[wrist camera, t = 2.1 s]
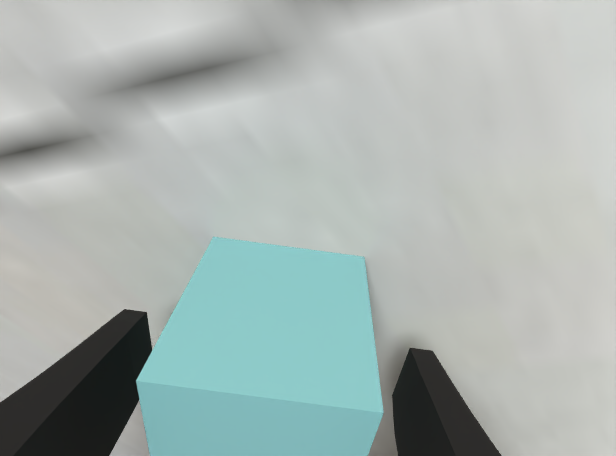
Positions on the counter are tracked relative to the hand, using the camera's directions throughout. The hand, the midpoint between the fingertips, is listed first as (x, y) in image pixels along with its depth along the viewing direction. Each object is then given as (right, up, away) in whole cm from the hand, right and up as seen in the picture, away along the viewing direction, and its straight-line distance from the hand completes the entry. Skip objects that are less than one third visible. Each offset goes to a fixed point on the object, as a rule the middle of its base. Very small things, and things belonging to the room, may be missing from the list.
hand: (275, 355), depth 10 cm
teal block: (0, +1, +2) cm, 2 cm away
